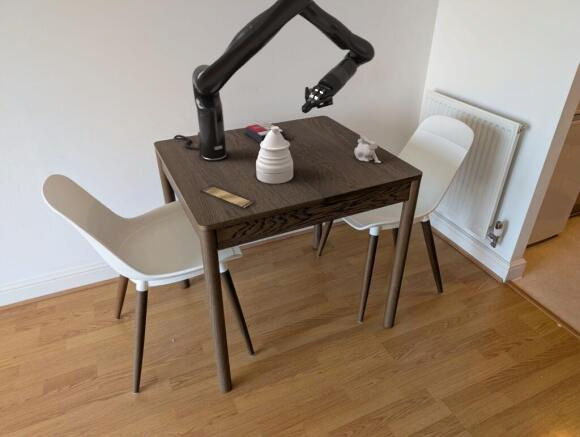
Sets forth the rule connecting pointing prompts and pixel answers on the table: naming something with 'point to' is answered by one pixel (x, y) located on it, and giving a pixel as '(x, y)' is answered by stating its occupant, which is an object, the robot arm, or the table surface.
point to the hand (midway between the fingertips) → (303, 111)
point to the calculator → (261, 131)
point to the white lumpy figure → (366, 150)
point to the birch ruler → (228, 197)
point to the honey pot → (274, 159)
